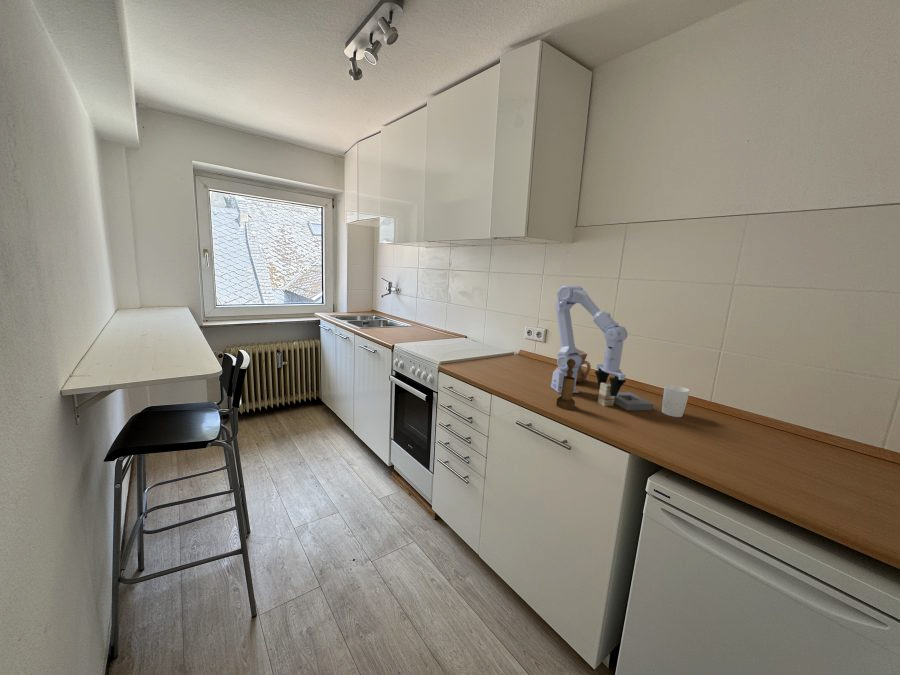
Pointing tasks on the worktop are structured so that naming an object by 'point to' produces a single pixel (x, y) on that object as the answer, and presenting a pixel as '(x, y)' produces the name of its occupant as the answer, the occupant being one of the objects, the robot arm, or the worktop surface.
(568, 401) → the brown capped rod
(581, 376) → the ceramic jug
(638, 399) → the socket board
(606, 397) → the peg
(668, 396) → the white cup
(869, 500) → the worktop surface
